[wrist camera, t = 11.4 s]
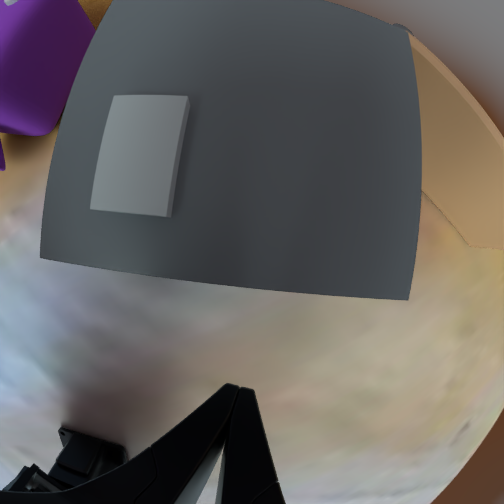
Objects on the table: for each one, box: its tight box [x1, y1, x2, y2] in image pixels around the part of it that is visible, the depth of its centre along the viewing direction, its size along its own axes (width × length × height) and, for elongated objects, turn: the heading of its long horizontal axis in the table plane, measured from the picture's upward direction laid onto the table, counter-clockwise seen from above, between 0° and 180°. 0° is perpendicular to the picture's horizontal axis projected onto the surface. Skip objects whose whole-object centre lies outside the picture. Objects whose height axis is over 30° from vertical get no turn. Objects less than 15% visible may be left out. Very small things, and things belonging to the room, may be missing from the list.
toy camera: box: [0, 0, 96, 171], centre depth 10 cm, size 11×14×10 cm
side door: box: [393, 24, 504, 250], centre depth 13 cm, size 17×2×9 cm, turn 55°
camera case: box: [40, 0, 422, 300], centre depth 11 cm, size 11×11×11 cm
